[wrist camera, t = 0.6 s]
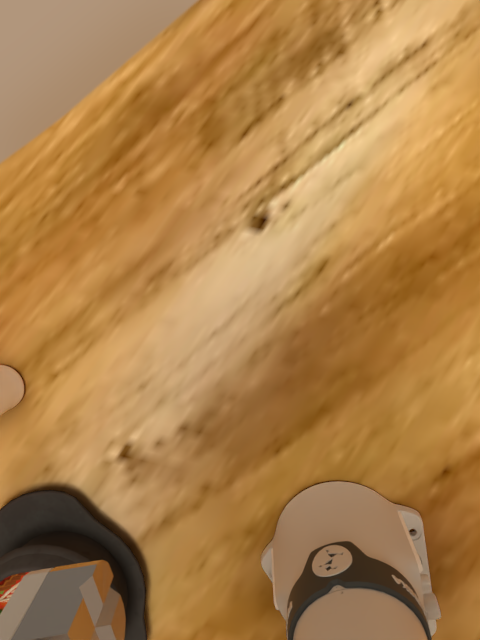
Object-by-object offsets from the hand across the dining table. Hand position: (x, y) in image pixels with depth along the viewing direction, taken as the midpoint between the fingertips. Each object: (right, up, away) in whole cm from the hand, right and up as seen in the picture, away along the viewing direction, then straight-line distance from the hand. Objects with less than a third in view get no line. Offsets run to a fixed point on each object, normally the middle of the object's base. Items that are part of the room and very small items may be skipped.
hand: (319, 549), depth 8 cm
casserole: (-22, -27, +47) cm, 58 cm away
